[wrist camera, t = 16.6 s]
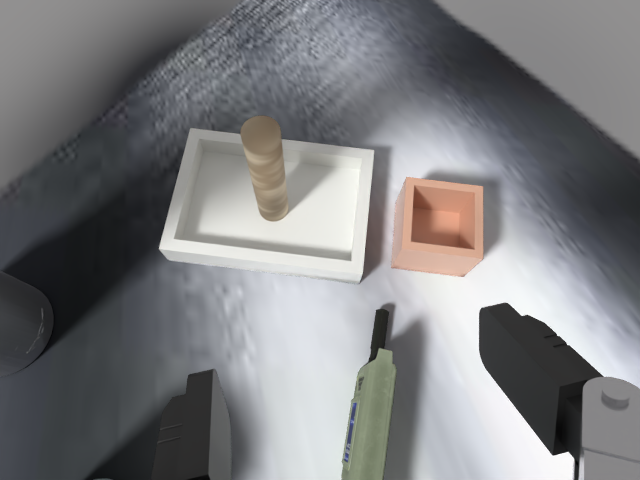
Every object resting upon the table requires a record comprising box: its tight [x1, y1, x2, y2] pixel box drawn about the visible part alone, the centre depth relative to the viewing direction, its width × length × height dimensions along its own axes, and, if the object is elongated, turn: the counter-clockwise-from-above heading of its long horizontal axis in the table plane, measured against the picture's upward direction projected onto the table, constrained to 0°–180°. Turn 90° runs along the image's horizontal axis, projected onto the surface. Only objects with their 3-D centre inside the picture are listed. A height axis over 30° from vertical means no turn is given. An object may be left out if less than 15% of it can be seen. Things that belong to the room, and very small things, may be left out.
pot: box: [391, 177, 483, 277], centre depth 48 cm, size 8×8×6 cm
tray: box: [159, 128, 374, 284], centre depth 50 cm, size 20×14×4 cm
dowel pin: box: [240, 116, 289, 222], centre depth 44 cm, size 3×3×14 cm
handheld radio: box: [342, 309, 397, 480], centre depth 40 cm, size 7×3×25 cm
